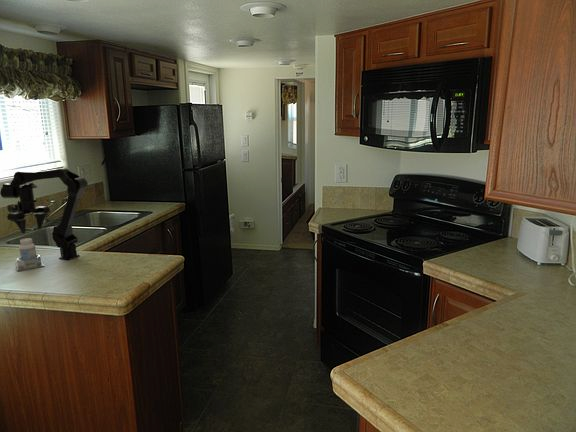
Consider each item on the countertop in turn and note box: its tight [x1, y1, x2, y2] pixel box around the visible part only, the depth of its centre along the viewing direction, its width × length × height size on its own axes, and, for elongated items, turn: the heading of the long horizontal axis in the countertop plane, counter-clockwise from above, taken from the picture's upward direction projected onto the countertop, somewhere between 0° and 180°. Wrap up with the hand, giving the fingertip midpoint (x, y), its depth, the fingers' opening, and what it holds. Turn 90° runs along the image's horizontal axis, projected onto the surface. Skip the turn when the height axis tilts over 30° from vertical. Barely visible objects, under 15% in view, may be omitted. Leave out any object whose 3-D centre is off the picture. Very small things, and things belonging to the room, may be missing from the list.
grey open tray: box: [15, 253, 45, 272], centre depth 191 cm, size 14×10×4 cm
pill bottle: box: [18, 237, 37, 260], centre depth 190 cm, size 6×6×11 cm
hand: (31, 230), depth 199 cm, fingers open, 9 cm apart
